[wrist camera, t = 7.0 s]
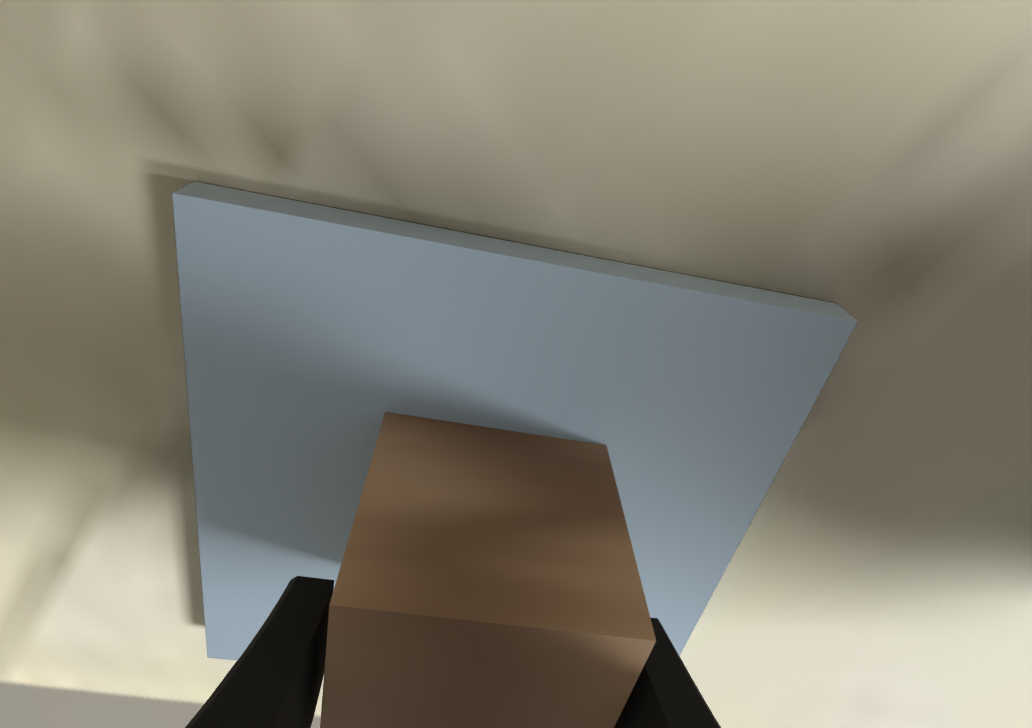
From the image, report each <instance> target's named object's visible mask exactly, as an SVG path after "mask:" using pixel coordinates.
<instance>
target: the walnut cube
mask: <svg viewBox="0 0 1032 728" xmlns="http://www.w3.org/2000/svg"><path fill="white" fill-rule="evenodd" d="M655 642H656V638H655V634H654V630H653V626H652V622H651V618H650V614H649V610H648V607H647V603H646V599H645V595H644V591H643V587H642V583H641V579H640V575H639V571H638V567H637V563H636V559H635V555H634V551H633V548H632V544H631V540H630V536H629V532H628V528H627V524H626V520H625V516H624V512H623V508H622V504H621V500H620V496H619V492H618V489H617V485H616V481H615V477H614V473H613V469H612V465H611V461H610V457H609V453H608V449H607V445H602V444H596V443H589V442H582V441H576V440H569V439H562V438H556V437H549V436H543V435H536V434H529V433H523V432H516V431H510V430H503V429H496V428H490V427H483V426H476V425H470V424H463V423H457V422H450V421H443V420H437V419H430V418H423V417H417V416H410V415H404V414H397V413H390V412H385V414H384V418H383V421H382V424H381V428H380V431H379V435H378V438H377V442H376V445H375V449H374V452H373V456H372V459H371V463H370V466H369V470H368V473H367V476H366V480H365V483H364V487H363V490H362V494H361V497H360V501H359V504H358V508H357V511H356V515H355V518H354V521H353V525H352V528H351V532H350V535H349V539H348V542H347V546H346V549H345V553H344V556H343V560H342V563H341V567H340V570H339V573H338V577H337V580H336V584H335V587H334V591H333V594H332V598H331V601H330V605H329V617H328V631H327V644H326V657H325V671H324V684H323V697H322V711H321V724H320V728H614V726H615V724H616V722H617V720H618V718H619V716H620V714H621V712H622V710H623V708H624V706H625V704H626V702H627V700H628V698H629V696H630V693H631V691H632V689H633V687H634V685H635V683H636V681H637V679H638V677H639V675H640V673H641V671H642V669H643V667H644V665H645V663H646V661H647V659H648V657H649V655H650V653H651V651H652V649H653V647H654V644H655Z"/></svg>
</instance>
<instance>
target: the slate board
mask: <svg viewBox="0 0 1032 728" xmlns="http://www.w3.org/2000/svg"><path fill="white" fill-rule="evenodd" d="M172 196H173V209H174V223H175V236H176V249H177V262H178V275H179V288H180V302H181V315H182V328H183V341H184V354H185V368H186V381H187V394H188V407H189V420H190V433H191V447H192V460H193V473H194V486H195V499H196V512H197V526H198V539H199V552H200V565H201V578H202V591H203V605H204V618H205V631H206V644H207V657H208V658H217V659H227V660H237V661H238V659H239V658H240V657H241V655H242V654H243V652H244V651H245V650H246V648H247V647H248V645H249V644H250V642H251V641H252V640H253V638H254V637H255V635H256V634H257V632H258V631H259V630H260V628H261V627H262V625H263V624H264V622H265V621H266V619H267V618H268V616H269V615H270V613H271V612H272V610H273V608H274V607H275V605H276V604H277V602H278V600H279V599H280V597H281V595H282V594H283V592H284V590H285V589H286V587H287V585H288V583H289V582H290V580H291V579H293V578H295V577H296V576H304V577H312V578H321V579H329V580H334V587H335V584H336V580H337V577H338V573H339V570H340V567H341V563H342V560H343V556H344V553H345V549H346V546H347V542H348V539H349V535H350V532H351V528H352V525H353V521H354V518H355V515H356V511H357V508H358V504H359V501H360V497H361V494H362V490H363V487H364V483H365V480H366V476H367V473H368V470H369V466H370V463H371V459H372V456H373V452H374V449H375V445H376V442H377V438H378V435H379V431H380V428H381V424H382V421H383V418H384V414H385V412H390V413H397V414H404V415H410V416H417V417H423V418H430V419H437V420H443V421H450V422H457V423H463V424H470V425H476V426H483V427H490V428H496V429H503V430H510V431H516V432H523V433H529V434H536V435H543V436H549V437H556V438H562V439H569V440H576V441H582V442H589V443H596V444H602V445H607V449H608V453H609V457H610V461H611V465H612V469H613V473H614V477H615V481H616V485H617V489H618V492H619V496H620V500H621V504H622V508H623V512H624V516H625V520H626V524H627V528H628V532H629V536H630V540H631V544H632V548H633V551H634V555H635V559H636V563H637V567H638V571H639V575H640V579H641V583H642V587H643V591H644V595H645V599H646V603H647V607H648V610H649V614H650V617H651V618H658V620H659V621H660V623H661V624H662V626H663V628H664V630H665V631H666V633H667V635H668V637H669V639H670V640H671V642H672V644H673V646H674V648H675V649H676V651H677V653H678V655H679V656H680V654H681V652H682V650H683V648H684V647H685V645H686V643H687V641H688V639H689V637H690V635H691V633H692V632H693V630H694V628H695V626H696V624H697V622H698V620H699V618H700V617H701V615H702V613H703V611H704V609H705V607H706V605H707V603H708V602H709V600H710V598H711V596H712V594H713V592H714V590H715V588H716V587H717V585H718V583H719V581H720V579H721V577H722V575H723V573H724V572H725V570H726V568H727V566H728V564H729V562H730V560H731V558H732V557H733V555H734V553H735V551H736V549H737V547H738V545H739V543H740V542H741V540H742V538H743V536H744V534H745V532H746V530H747V528H748V527H749V525H750V523H751V521H752V519H753V517H754V515H755V513H756V512H757V510H758V508H759V506H760V504H761V502H762V500H763V498H764V497H765V495H766V493H767V491H768V489H769V487H770V485H771V483H772V482H773V480H774V478H775V476H776V474H777V472H778V470H779V468H780V467H781V465H782V463H783V461H784V459H785V457H786V455H787V453H788V452H789V450H790V448H791V446H792V444H793V442H794V440H795V438H796V437H797V435H798V433H799V431H800V429H801V427H802V425H803V423H804V422H805V420H806V418H807V416H808V414H809V412H810V410H811V408H812V407H813V405H814V403H815V401H816V399H817V397H818V395H819V393H820V392H821V390H822V388H823V386H824V384H825V382H826V380H827V378H828V377H829V375H830V373H831V371H832V369H833V367H834V365H835V363H836V362H837V360H838V358H839V356H840V354H841V352H842V350H843V348H844V347H845V345H846V343H847V341H848V339H849V337H850V335H851V333H852V332H853V330H854V328H855V326H856V324H857V322H858V321H857V320H856V319H855V318H853V317H852V316H851V315H850V314H849V313H847V312H846V311H845V310H844V309H843V308H842V307H840V306H839V305H838V304H837V303H832V302H826V301H821V300H816V299H811V298H805V297H800V296H795V295H790V294H784V293H779V292H774V291H768V290H763V289H758V288H753V287H747V286H742V285H737V284H732V283H726V282H721V281H716V280H711V279H705V278H700V277H695V276H690V275H684V274H679V273H674V272H669V271H663V270H658V269H653V268H648V267H642V266H637V265H632V264H626V263H621V262H616V261H611V260H605V259H600V258H595V257H590V256H584V255H579V254H574V253H569V252H563V251H558V250H553V249H548V248H542V247H537V246H532V245H527V244H521V243H516V242H511V241H506V240H500V239H495V238H490V237H484V236H479V235H474V234H469V233H463V232H458V231H453V230H448V229H442V228H437V227H432V226H427V225H421V224H416V223H411V222H406V221H400V220H395V219H390V218H385V217H379V216H374V215H369V214H363V213H358V212H353V211H348V210H342V209H337V208H332V207H327V206H321V205H316V204H311V203H306V202H300V201H295V200H290V199H285V198H279V197H274V196H269V195H264V194H258V193H253V192H248V191H243V190H237V189H232V188H227V187H221V186H216V185H211V184H206V183H200V182H195V181H194V182H192V183H190V184H188V185H186V186H185V187H183V188H181V189H179V190H177V191H175V192H173V193H172ZM333 591H334V590H333Z"/></svg>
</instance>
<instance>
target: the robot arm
mask: <svg viewBox="0 0 1032 728" xmlns="http://www.w3.org/2000/svg"><path fill="white" fill-rule="evenodd" d="M333 590H334V580H329V579H321V578H312V577H304V576H296V577H295V578H293V579H291V580H290V582H289V583H288V585H287V587H286V589H285V590H284V592H283V594H282V595H281V597H280V599H279V600H278V602H277V604H276V605H275V607H274V608H273V610H272V612H271V613H270V615H269V616H268V618H267V619H266V621H265V622H264V624H263V625H262V627H261V628H260V630H259V631H258V632H257V634H256V635H255V637H254V638H253V640H252V641H251V642H250V644H249V645H248V647H247V648H246V650H245V651H244V652H243V654H242V655H241V657H240V658H239V659H238V661H237V662H236V663H235V664H234V666H233V667H232V668H231V670H230V671H229V672H228V674H227V675H226V676H225V678H224V679H223V680H222V682H221V683H220V684H219V686H218V687H217V688H216V690H215V691H214V692H213V694H212V695H211V696H210V698H209V699H208V700H207V701H206V703H205V704H204V705H203V706H202V708H201V709H200V710H199V711H198V713H197V714H196V715H195V716H194V718H193V719H192V720H191V721H190V722H189V724H188V725H187V726H186V727H185V728H310V727H311V723H312V721H313V717H314V713H315V709H316V704H317V700H318V696H319V692H320V688H321V684H322V680H323V675H324V671H325V657H326V644H327V631H328V617H329V605H330V601H331V598H332V594H333ZM650 618H651V617H650ZM651 622H652V626H653V630H654V634H655V638H656V642H655V644H654V647H653V649H652V651H651V653H650V655H649V657H648V659H647V661H646V663H645V665H644V667H643V669H642V671H641V673H640V675H639V677H638V679H637V681H636V683H635V685H634V687H633V689H632V691H631V693H630V696H629V698H628V700H627V702H626V704H625V706H624V708H623V710H622V712H621V714H620V716H619V718H618V720H617V722H616V724H615V726H614V728H721V727H720V725H719V724H718V722H717V721H716V719H715V717H714V716H713V714H712V712H711V710H710V709H709V707H708V705H707V704H706V702H705V700H704V699H703V697H702V695H701V693H700V692H699V690H698V688H697V686H696V685H695V683H694V681H693V679H692V678H691V676H690V674H689V672H688V671H687V669H686V667H685V665H684V664H683V662H682V660H681V658H680V656H679V655H678V653H677V651H676V649H675V648H674V646H673V644H672V642H671V640H670V639H669V637H668V635H667V633H666V631H665V630H664V628H663V626H662V624H661V623H660V621H659V620H658V618H651Z"/></svg>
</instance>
